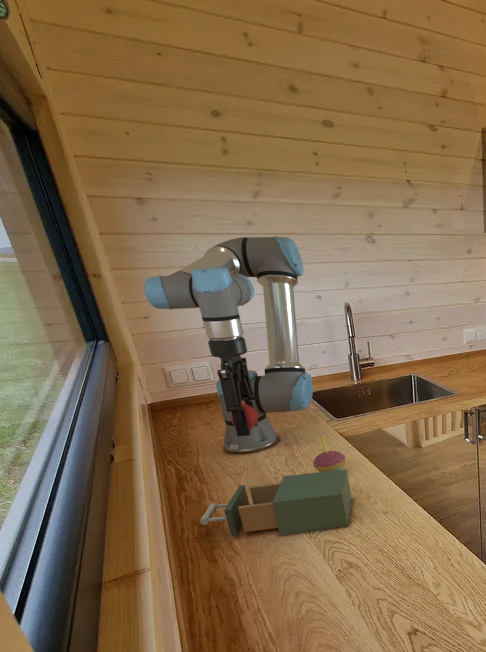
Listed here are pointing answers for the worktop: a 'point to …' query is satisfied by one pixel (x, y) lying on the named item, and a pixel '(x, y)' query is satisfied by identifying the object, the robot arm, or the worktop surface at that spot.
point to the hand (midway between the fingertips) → (247, 430)
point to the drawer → (247, 510)
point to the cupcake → (329, 460)
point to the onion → (249, 415)
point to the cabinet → (312, 502)
